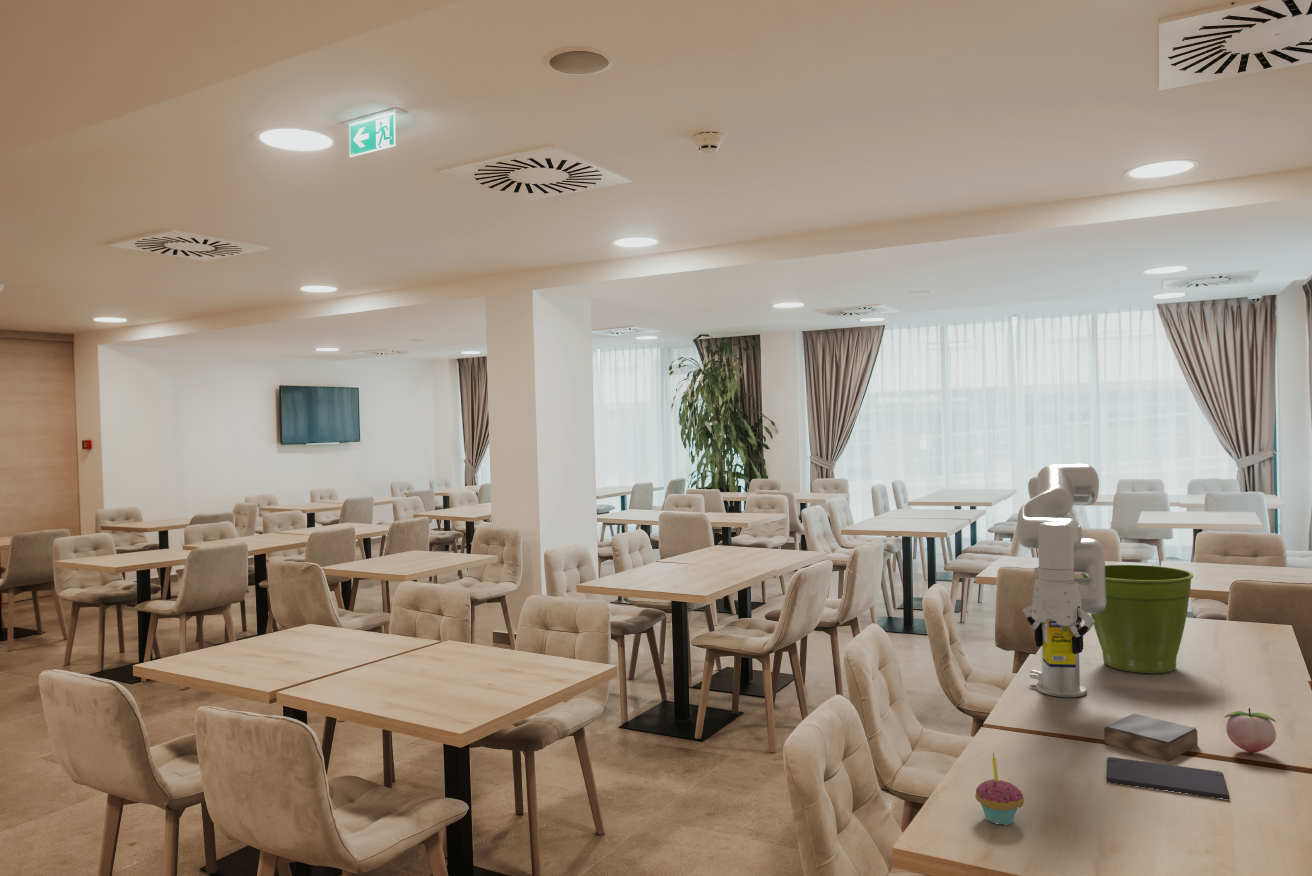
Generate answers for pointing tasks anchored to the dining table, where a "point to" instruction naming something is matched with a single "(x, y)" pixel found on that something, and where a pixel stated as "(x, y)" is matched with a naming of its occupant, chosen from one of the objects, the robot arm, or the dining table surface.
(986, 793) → the cupcake
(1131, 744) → the dock
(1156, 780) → the notebook
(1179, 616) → the plant pot
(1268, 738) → the decorative fruit
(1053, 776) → the dining table surface
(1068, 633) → the supplement box
